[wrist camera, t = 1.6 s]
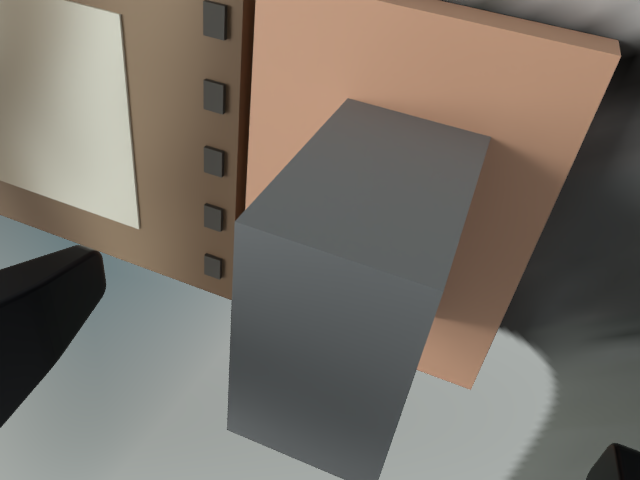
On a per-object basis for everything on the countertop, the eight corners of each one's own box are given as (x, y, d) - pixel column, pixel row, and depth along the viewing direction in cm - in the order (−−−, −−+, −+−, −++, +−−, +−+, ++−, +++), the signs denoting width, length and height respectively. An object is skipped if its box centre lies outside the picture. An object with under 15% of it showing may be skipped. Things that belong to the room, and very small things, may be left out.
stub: (618, 40, 10) (647, 198, 6) (476, 363, 16) (432, 576, 11) (278, -36, 12) (84, 42, 7) (255, 284, 17) (136, 444, 13)
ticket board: (266, -39, 12) (241, -30, 11) (247, 280, 17) (230, 302, 16) (-162, -135, 14) (-209, -133, 14) (-61, 170, 20) (-90, 184, 19)
